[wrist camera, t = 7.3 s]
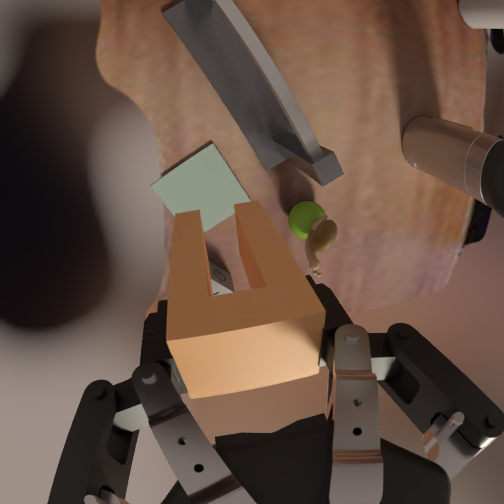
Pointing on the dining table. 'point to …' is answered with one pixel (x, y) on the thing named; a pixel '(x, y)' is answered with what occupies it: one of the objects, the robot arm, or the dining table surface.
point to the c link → (240, 311)
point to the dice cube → (220, 280)
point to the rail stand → (251, 86)
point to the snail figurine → (312, 230)
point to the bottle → (482, 13)
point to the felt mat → (202, 188)
